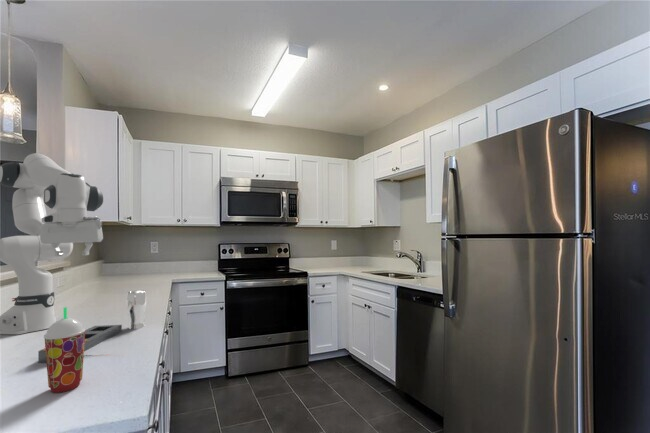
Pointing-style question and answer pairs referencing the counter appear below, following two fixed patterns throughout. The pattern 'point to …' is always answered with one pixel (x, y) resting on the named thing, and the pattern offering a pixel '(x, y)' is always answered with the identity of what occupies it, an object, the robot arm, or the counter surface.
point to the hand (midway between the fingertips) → (72, 255)
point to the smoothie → (64, 354)
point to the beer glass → (136, 308)
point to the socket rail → (91, 338)
